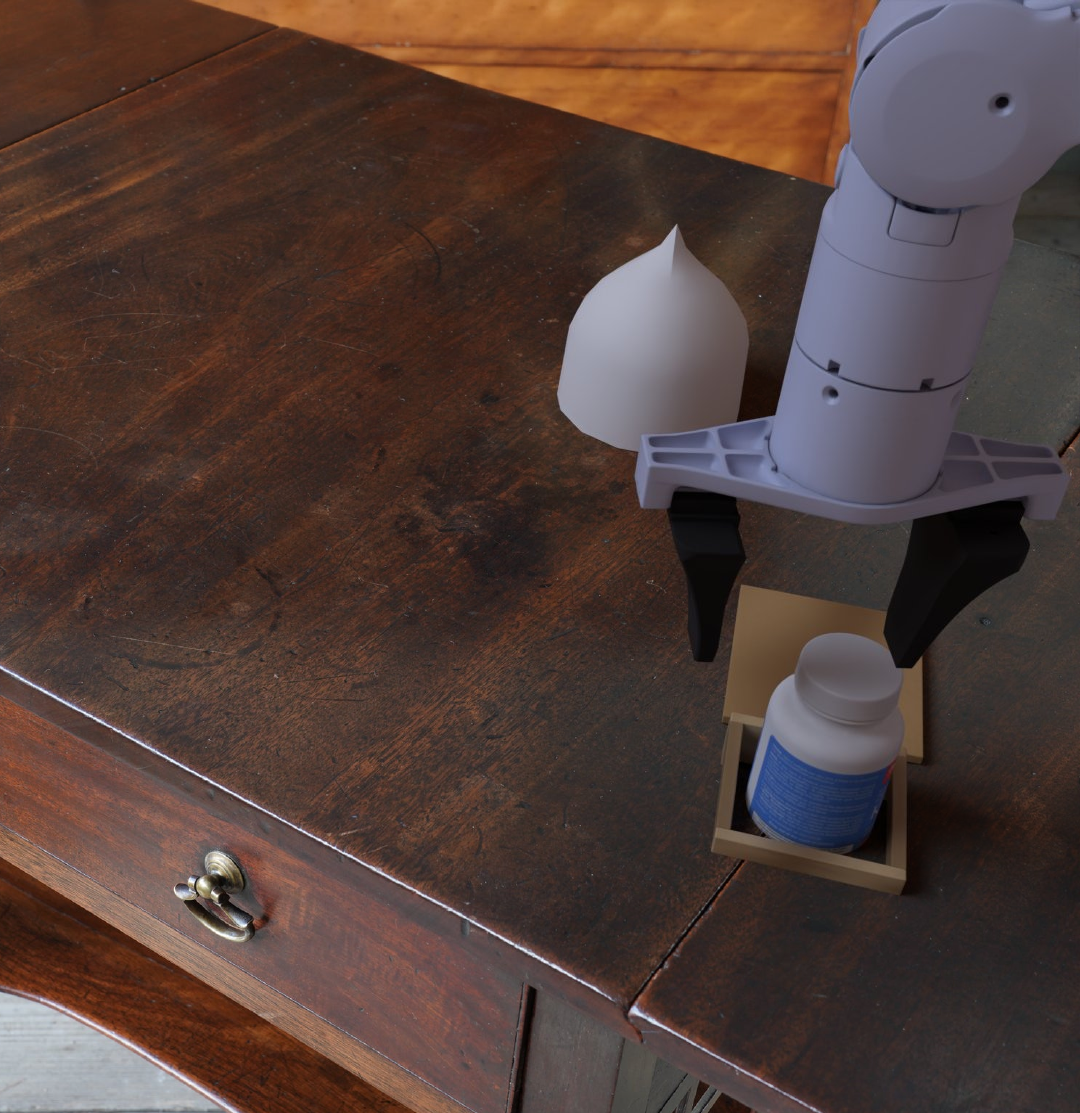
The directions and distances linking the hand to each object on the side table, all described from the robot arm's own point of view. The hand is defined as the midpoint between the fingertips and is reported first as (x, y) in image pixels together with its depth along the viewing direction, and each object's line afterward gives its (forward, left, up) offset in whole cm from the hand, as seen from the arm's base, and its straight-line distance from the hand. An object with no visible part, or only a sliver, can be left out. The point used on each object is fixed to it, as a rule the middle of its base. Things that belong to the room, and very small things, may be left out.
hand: (798, 648), depth 57 cm
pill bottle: (-2, -1, -11) cm, 11 cm away
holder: (-2, -1, -11) cm, 11 cm away
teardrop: (+9, -33, -11) cm, 36 cm away
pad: (-3, -11, -11) cm, 16 cm away
